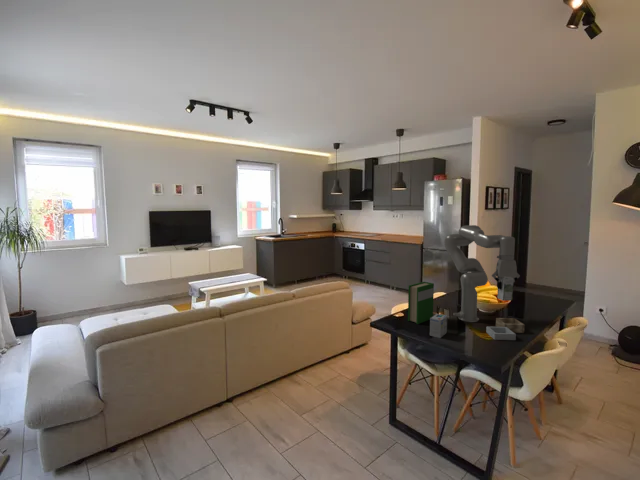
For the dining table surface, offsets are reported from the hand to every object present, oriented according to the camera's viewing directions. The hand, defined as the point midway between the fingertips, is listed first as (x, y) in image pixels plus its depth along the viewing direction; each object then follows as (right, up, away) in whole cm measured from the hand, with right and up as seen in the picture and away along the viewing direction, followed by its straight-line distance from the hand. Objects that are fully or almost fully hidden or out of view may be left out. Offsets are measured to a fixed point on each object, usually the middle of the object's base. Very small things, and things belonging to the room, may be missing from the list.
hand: (505, 288), depth 193 cm
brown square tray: (+9, -27, +11) cm, 30 cm away
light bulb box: (-37, -28, +4) cm, 47 cm away
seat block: (-3, -28, 0) cm, 28 cm away
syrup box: (0, -7, +1) cm, 7 cm away
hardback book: (-40, -25, +29) cm, 56 cm away
